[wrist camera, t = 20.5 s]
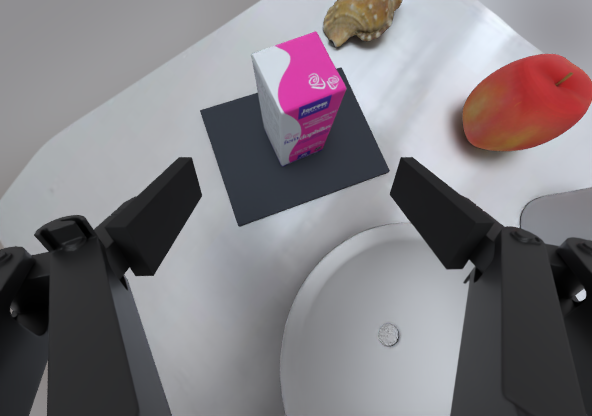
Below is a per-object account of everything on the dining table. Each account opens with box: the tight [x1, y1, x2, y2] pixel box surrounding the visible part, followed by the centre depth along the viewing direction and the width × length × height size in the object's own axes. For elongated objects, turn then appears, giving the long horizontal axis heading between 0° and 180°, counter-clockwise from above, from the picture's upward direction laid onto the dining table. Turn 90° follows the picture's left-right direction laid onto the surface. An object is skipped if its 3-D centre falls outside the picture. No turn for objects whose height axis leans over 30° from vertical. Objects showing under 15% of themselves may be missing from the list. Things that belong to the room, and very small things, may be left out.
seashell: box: [323, 0, 402, 47], centre depth 29 cm, size 9×8×10 cm
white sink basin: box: [280, 223, 475, 416], centre depth 21 cm, size 24×24×7 cm
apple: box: [463, 54, 592, 151], centre depth 24 cm, size 10×10×10 cm
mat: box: [200, 68, 390, 226], centre depth 28 cm, size 16×20×1 cm
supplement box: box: [251, 32, 346, 167], centre depth 22 cm, size 6×6×12 cm
